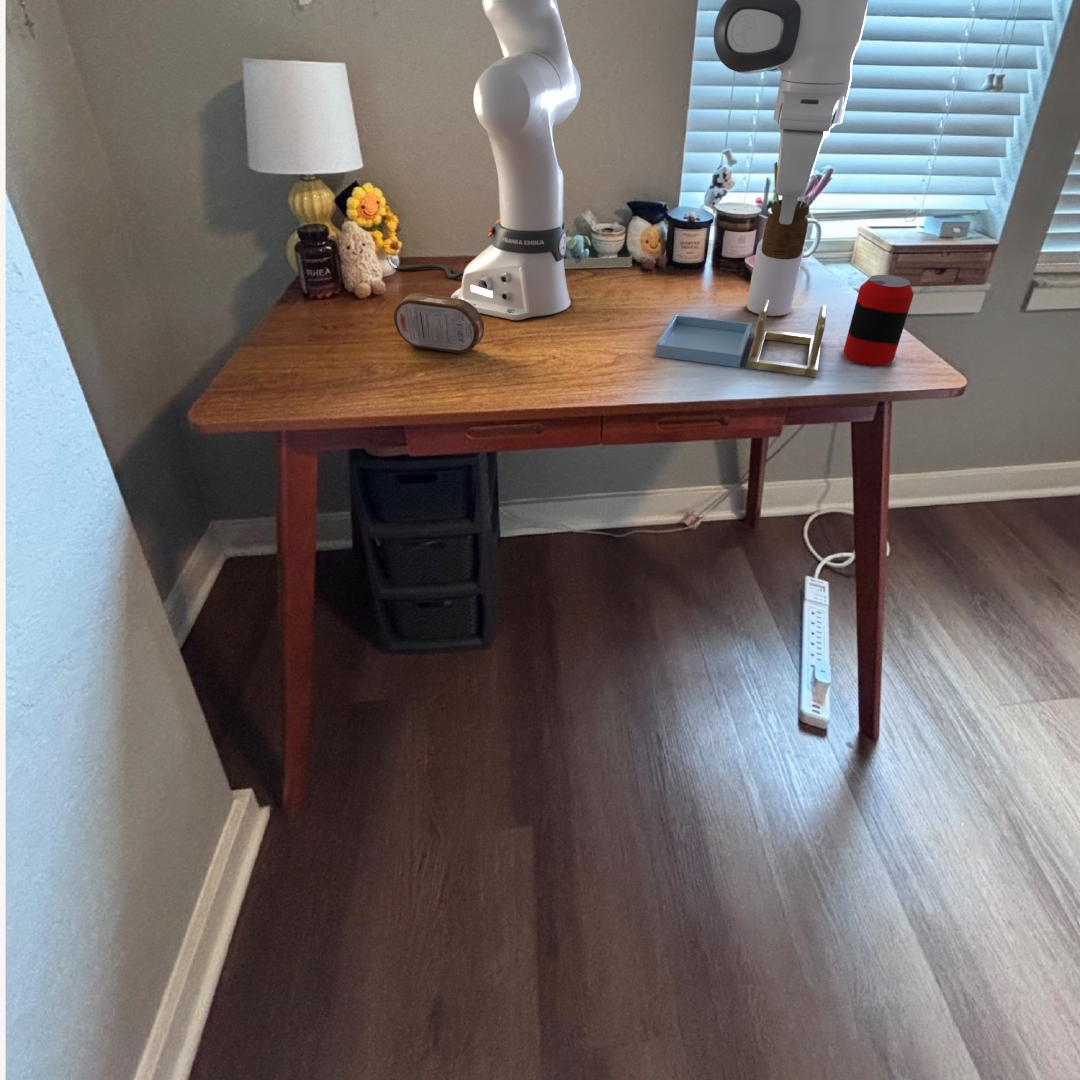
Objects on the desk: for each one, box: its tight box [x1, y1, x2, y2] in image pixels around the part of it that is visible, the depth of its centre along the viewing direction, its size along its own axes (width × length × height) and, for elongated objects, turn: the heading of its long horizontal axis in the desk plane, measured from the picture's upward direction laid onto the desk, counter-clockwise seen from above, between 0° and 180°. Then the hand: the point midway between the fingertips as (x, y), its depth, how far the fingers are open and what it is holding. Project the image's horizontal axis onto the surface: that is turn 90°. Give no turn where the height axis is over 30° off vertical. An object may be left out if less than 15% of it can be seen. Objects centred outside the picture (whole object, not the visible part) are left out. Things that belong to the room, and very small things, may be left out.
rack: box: [745, 299, 828, 378], centre depth 113 cm, size 10×14×7 cm
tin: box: [393, 292, 485, 354], centre depth 116 cm, size 15×3×8 cm, turn 71°
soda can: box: [842, 274, 915, 367], centre depth 111 cm, size 8×8×12 cm
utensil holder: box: [762, 161, 819, 259], centre depth 103 cm, size 6×6×12 cm
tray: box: [654, 314, 753, 368], centre depth 118 cm, size 13×14×2 cm
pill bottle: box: [746, 238, 805, 317], centre depth 127 cm, size 8×8×15 cm
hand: (787, 217), depth 104 cm, fingers closed on utensil holder, 5 cm apart
